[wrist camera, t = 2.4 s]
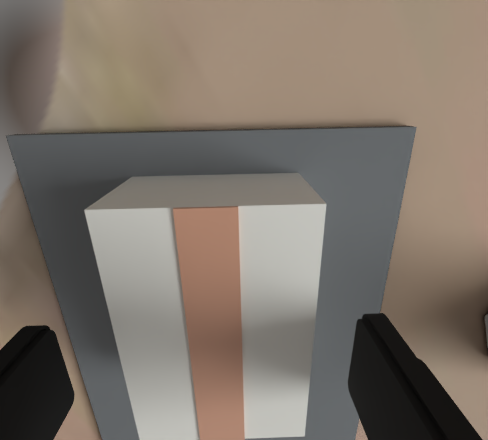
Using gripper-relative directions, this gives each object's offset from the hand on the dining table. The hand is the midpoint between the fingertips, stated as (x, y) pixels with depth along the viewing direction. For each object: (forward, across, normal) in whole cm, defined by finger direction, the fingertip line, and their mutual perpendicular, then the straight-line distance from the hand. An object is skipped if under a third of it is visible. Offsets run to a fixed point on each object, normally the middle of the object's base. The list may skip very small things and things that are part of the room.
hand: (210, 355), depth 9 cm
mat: (+4, 0, +6) cm, 7 cm away
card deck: (+3, 0, 0) cm, 3 cm away
